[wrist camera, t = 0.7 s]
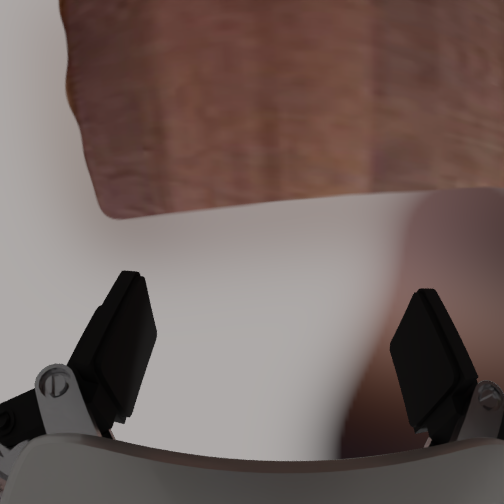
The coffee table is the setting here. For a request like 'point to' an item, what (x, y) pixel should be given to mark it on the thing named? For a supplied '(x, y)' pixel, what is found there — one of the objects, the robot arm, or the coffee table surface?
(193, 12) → the coffee table surface
